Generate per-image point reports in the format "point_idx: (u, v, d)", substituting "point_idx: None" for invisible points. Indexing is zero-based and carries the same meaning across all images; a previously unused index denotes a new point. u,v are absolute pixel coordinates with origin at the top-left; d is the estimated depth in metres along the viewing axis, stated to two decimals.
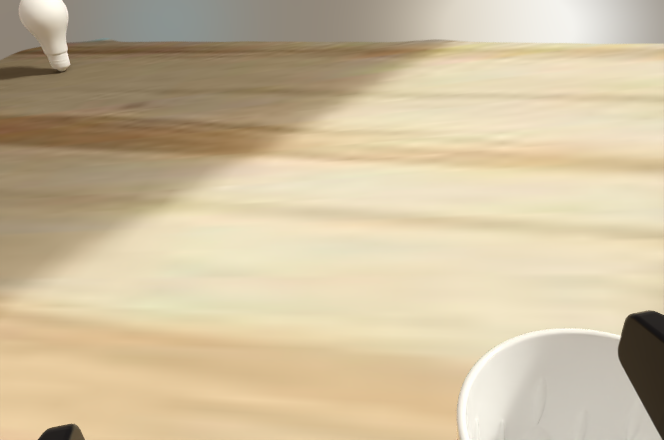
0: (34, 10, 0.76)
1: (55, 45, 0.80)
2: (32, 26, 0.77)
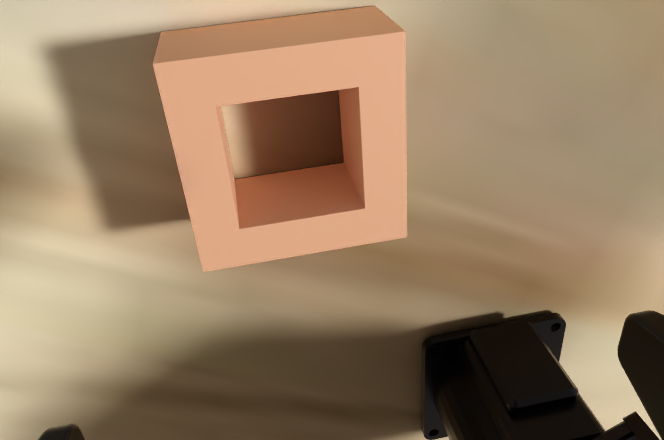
0: None
1: None
2: None
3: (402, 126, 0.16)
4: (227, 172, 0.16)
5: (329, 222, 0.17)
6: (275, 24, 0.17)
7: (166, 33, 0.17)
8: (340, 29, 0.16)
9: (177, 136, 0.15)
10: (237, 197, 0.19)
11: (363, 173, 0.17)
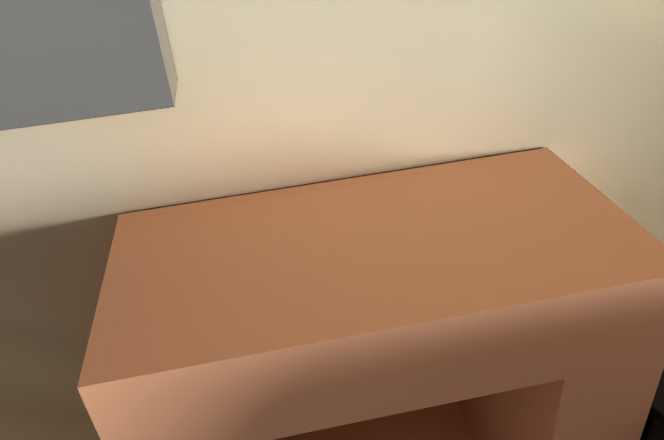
0: None
1: None
2: None
3: (634, 430, 0.08)
4: None
5: None
6: (360, 206, 0.08)
7: (129, 222, 0.08)
8: (520, 244, 0.07)
9: None
10: None
11: None
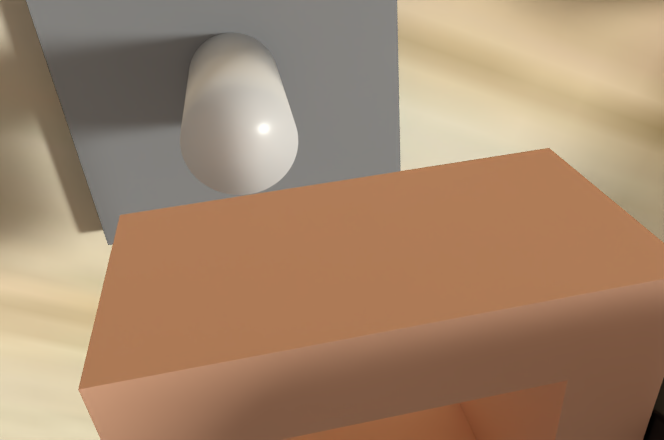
0: None
1: None
2: None
3: (637, 432, 0.08)
4: None
5: None
6: (361, 207, 0.08)
7: (130, 223, 0.08)
8: (523, 245, 0.07)
9: None
10: None
11: None
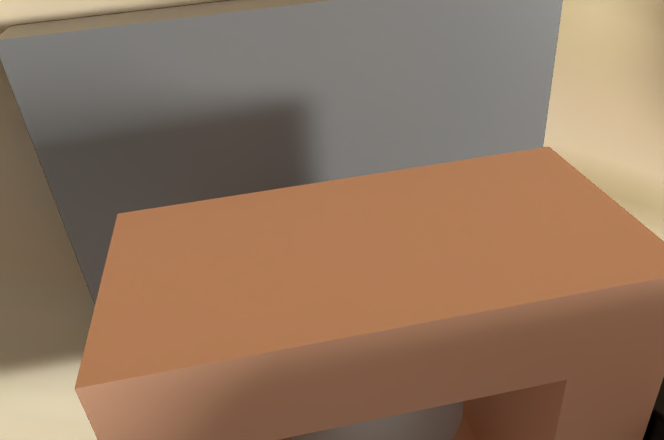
0: None
1: None
2: None
3: (637, 431, 0.08)
4: None
5: None
6: (360, 205, 0.08)
7: (128, 222, 0.08)
8: (522, 243, 0.07)
9: None
10: None
11: None
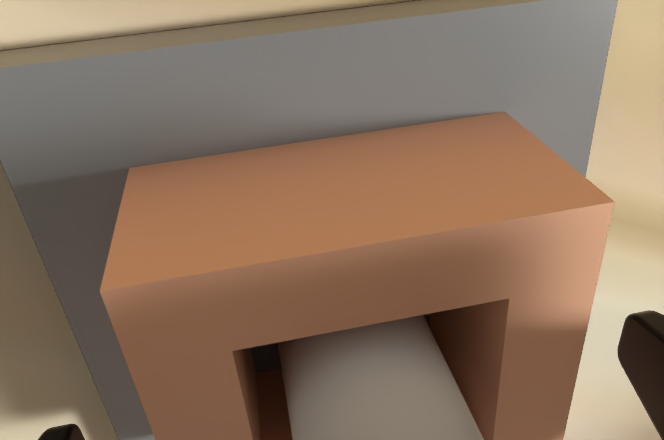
0: None
1: None
2: None
3: (575, 350, 0.09)
4: None
5: None
6: (338, 158, 0.09)
7: (138, 173, 0.09)
8: (472, 184, 0.08)
9: (156, 403, 0.08)
10: (263, 422, 0.11)
11: (494, 421, 0.09)
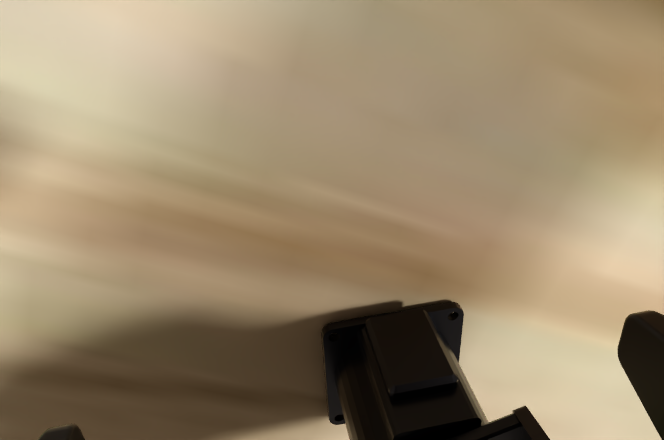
0: None
1: None
2: None
3: None
4: None
5: None
6: None
7: None
8: None
9: None
10: None
11: None
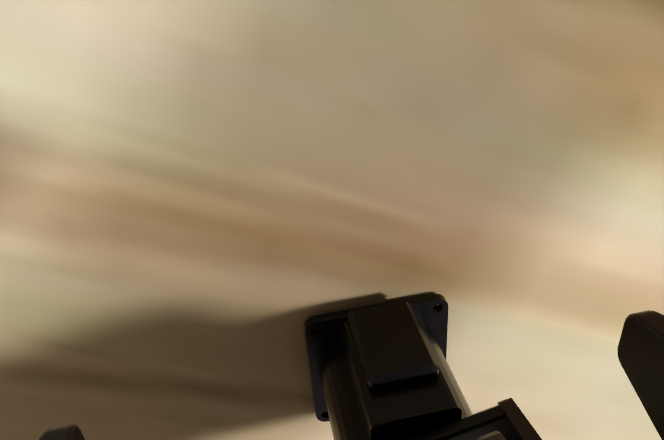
0: None
1: None
2: None
3: None
4: None
5: None
6: None
7: None
8: None
9: None
10: None
11: None
